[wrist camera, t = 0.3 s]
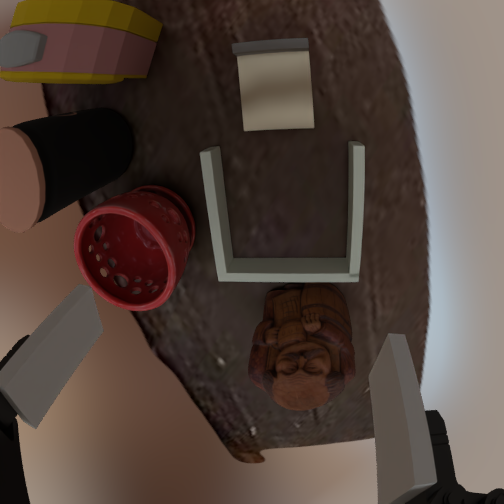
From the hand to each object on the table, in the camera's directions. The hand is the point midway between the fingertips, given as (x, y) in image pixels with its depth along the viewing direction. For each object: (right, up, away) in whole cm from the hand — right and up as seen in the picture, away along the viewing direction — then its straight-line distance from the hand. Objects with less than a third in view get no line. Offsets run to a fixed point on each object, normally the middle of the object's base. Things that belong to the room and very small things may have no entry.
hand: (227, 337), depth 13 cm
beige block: (+4, +22, +19) cm, 29 cm away
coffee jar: (-19, +18, +25) cm, 36 cm away
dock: (+5, +9, +25) cm, 27 cm away
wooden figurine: (+8, -3, +31) cm, 32 cm away
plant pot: (-11, +8, +29) cm, 32 cm away
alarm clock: (-16, +30, +18) cm, 39 cm away
